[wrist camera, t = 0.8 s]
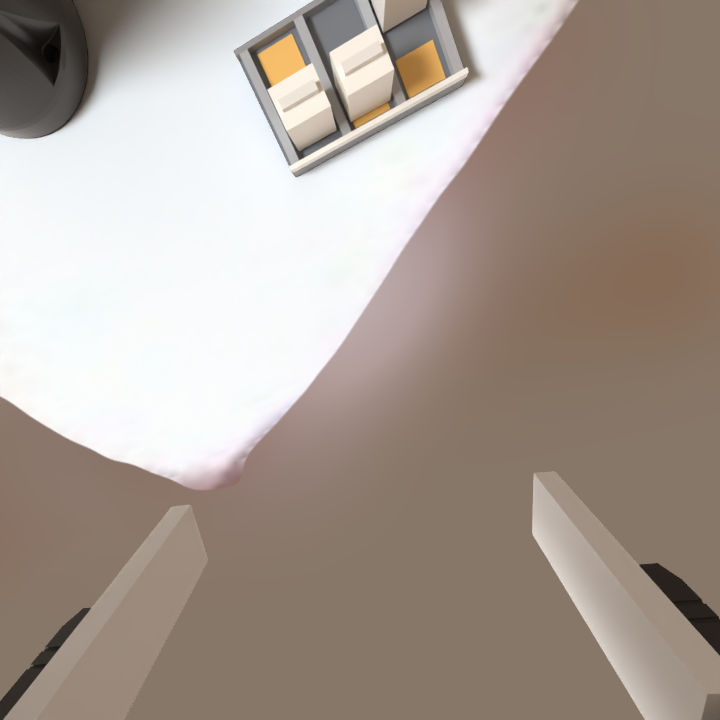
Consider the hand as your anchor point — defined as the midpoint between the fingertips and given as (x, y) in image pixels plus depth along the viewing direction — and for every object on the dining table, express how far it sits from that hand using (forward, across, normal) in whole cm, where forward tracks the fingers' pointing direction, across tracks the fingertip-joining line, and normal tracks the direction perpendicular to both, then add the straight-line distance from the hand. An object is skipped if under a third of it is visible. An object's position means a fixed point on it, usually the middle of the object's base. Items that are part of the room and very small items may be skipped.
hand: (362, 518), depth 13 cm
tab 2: (+24, +3, +23) cm, 33 cm away
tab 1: (+24, -2, +22) cm, 32 cm away
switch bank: (+26, +2, +25) cm, 36 cm away
